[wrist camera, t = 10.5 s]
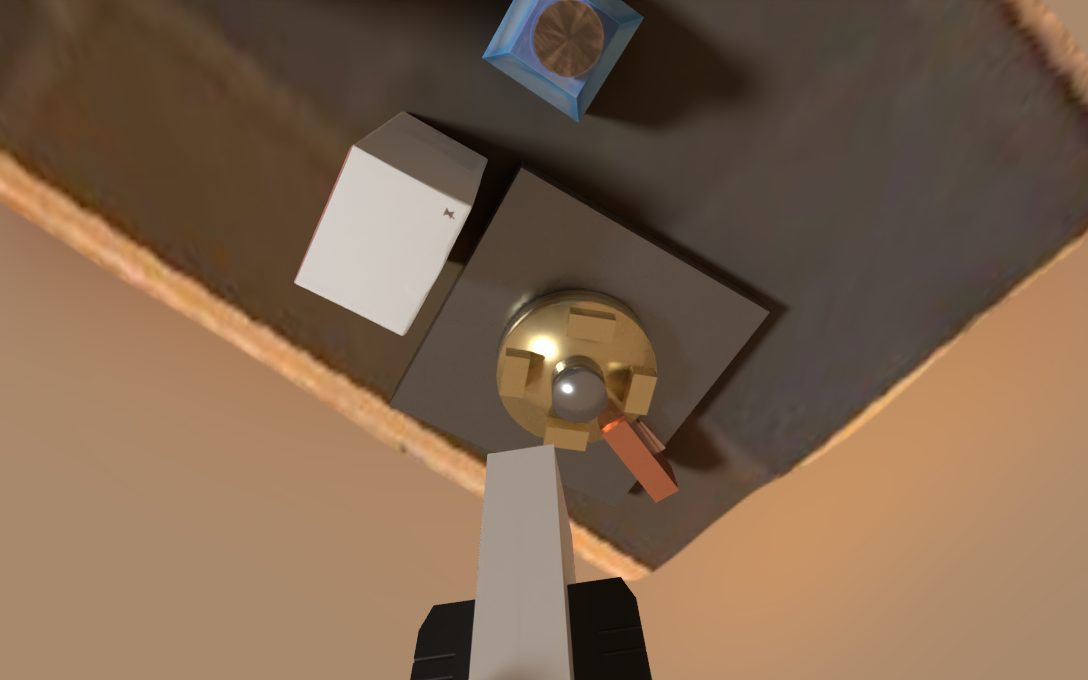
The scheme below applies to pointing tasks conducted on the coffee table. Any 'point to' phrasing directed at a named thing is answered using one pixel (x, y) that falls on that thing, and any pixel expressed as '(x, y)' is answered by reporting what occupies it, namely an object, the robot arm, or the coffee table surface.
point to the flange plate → (571, 262)
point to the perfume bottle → (562, 47)
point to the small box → (392, 221)
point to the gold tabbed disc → (627, 369)
